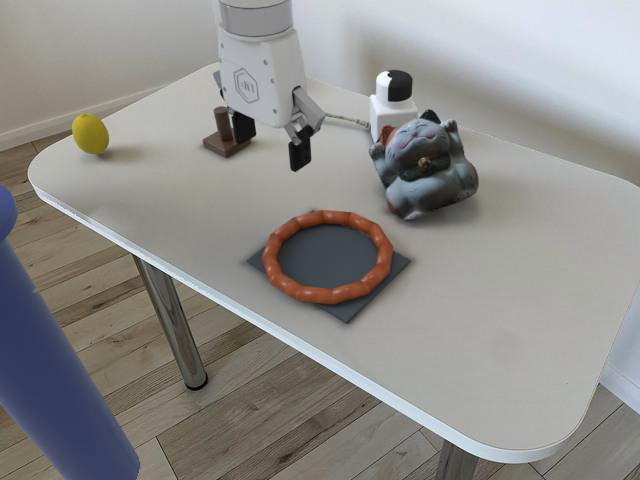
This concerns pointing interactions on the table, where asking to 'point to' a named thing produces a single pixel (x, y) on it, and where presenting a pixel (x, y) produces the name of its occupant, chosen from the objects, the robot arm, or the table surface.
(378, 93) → the medicine bottle
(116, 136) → the table surface
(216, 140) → the post stand
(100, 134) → the lemon
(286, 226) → the ring
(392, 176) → the lucky cat figurine
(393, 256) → the mat
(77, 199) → the table surface
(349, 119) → the soupspoon
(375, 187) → the table surface
